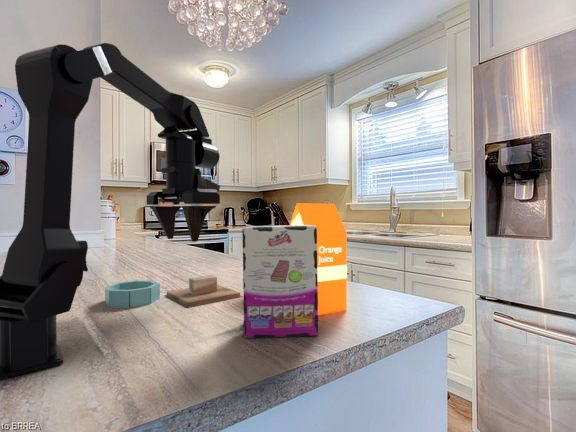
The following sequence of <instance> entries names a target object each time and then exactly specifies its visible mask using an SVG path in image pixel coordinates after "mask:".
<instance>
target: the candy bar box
mask: <svg viewBox="0 0 576 432" xmlns="http://www.w3.org/2000/svg"><path fill="white" fill-rule="evenodd" d="M242 274H243V278H242V281H243V282H242V283H243V284H242V286H243V288H242V289H243V337H244V339H263V338H265V339H267V338H271V339H272V338H292V337H293V338H295V337H311V336H312V337H315V336H318V335H319V315H318V277H317V275H318V271H317V226H314V225H290V224H289V225H288V224H287V225H284V224H283V225H251V226H250V225H249V226H248V225H247V226H244V227H243V228H242Z"/></svg>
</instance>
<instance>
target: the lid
mask: <svg viewBox="0 0 576 432" xmlns="http://www.w3.org/2000/svg"><path fill="white" fill-rule="evenodd" d="M188 280H189V285H188V287H187V288H181V289H174V290H168V291H166V295H167V296H169V297H171V298H173V299H175V300H177V301H179V302H181V303H183V304H185V305H187V306H188V307H191V306H196V305H201V304H206V303H211V302H216V301H221V300H226V299H231V298H236V297H240V296H241V292H240V291H236V290H234V289H231V288H227V287H224V286H221V285H219V284H218V276H215V275H212V274H211V275H205V276H198V277H190V278H188ZM236 299H237V298H236ZM231 300H232V299H231ZM226 301H227V300H226ZM221 302H222V301H221ZM216 303H217V302H216ZM211 304H212V303H211Z"/></svg>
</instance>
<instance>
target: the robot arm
mask: <svg viewBox="0 0 576 432" xmlns="http://www.w3.org/2000/svg"><path fill="white" fill-rule="evenodd" d="M14 70H15V77H16V78H15V79H16V87H17V93H18V95H19V97H20V100H21V102H22V103H23V104H24V106H25V109H26V110H27V112H28V117H29V118H28V119H29V120H28V136H27V150H26V151H27V152H26V153H27V155H26V169H25V185H24V186H25V187H24V203H23V217H22V218H23V220H22V221H23V222H22V226H21V229H20V230H19V232H18V234H17V235H16V237H15V238H14V240H13V241H12V243H10V244H11V245H10V246H9V248H8V250H7V254H6V258H5V262H4V265H3V269H2V274H1V275H0V380H3V379H7V378H10V377H11V378H12V377H16V376H19V375H22V374H26V373H30V372H35V371H39V370H42V369H47V368H50V367H55V366H59V365H61V364H63V363H64V357H63V354H62V352H61V349H60V346H59V344H57V315H61V314H64V313H67V312H70V311H71V307H72V305H73V302H74V299H75V295H76V292H77V288H78V287H80V286H81V283H82V281H83V277H84V272H88V270H89V268H88V265H87V253H88V249H89V244H88V241H87V240H78V239H76V237H75V235H74V233H73V231H72V230H71V225H70V224H71V211H72V209H71V207H72V205H71V204H72V189H73V188H72V185H73V169H74V167H73V166H74V150H75V149H74V148H75V133H76V132H75V131H76V130H75V129H76V121H77V119H78V118H79V116H80V115H81V113H82V111H83V110H84V108H85V107H86V105H87V103H88V102H89V100H90V96H91V95H90V94H91V90H92V86H93V81H94V80H95V79H98V78H100V79H101V80H104V81H105V82H106V83H108V84H110V85H111V86H112V87H114V88H115V89H117V90H119V91H120V92H122V93H123V94H125V95H126V96H127V97H129V98H131V99H132V100H134V101H135V102H137V103H139V104H140V105H141V106H143V107H144V108H145V109H147V110H149V111H150V112H151V113H152V115H153V117H154V118H153V119H154V120H155V121H156V122H157V123H158V124H159V125H160V126H161V127H162V128H163V130H161V131H160V132H159V133H157V137H158V138H159V139H162V140H163V139H164V140H165V167H162V168H161V174H163V175H166V176H165V178H166V181H165V182H166V185H165V186H166V188H162V189H161V191H150V192H149V193H148V194H147V195H146V197H145V198H146V206H147V205H150V206H149V209H151V211H152V212H153V215H154V216H155V217H156V219H157V220H158V222H159V224H160V226H161V228H162V230H163V232H164V234H165V236H166V238H167V239H168V240H170V239H171V240H172V239H174V235H175V227H176V226H175V225H176V214H177V213H178V212H179V210H180V209H181V208H182V212H183V215H184V219H185V223H186V226H187V230H188V233H189V237H190V240H191V242H192V243H193V242H195V243H196V242H198V241H199V237H200V235H201V232H202V228H203V225H204V221H206V218H207V215H208V214H209V213H210V212H211V211H212V210H214V209H216V207H217V205H220V204H221V193H220V189H221V185H220V184H217V182H216V183H215V182H214V181H212V180H210V179H207V178H204V177H202V171H201V170H200V168H202V169H206V170H210V169H214V168H215V167H216V166H217V165H218V163H219V161H220V155H221V154H220V152H219V149H218V148H217V147H216V146H215V145H214V144H213V141H212V139H211V138H210V134H209V131H208V129H207V127H206V124H205V120H204V118H203V115H202V113H201V110H200V108H199V106H198V105H197V104H196V102H195V101H193V99H190V98H188V97H187V96H185V95H182V94H179V93H176V92H175V93H174V92H173V91H172V92H171V91H169V90H168V89H166V88H165V87H164V86H162V85H161V84H160V83H158V82H157V81H156V80H154V78H152V77H151V76H150V75H148V74H147V73H146V72H144V71H143V70H142V69H141V68H140V67H138V66H137V65H135V63H133V62H132V61H131V60H129V59H128V58H127V57H125V56H124V54H122V52H121V51H120V49H119V48H118V47H117V46H116V45H115V44H113V43H109V42H103V43H98V44H94V45H91V46H90V45H89V46H86V47H84V48H83V49H80V50H77V49H76V48H74V47H73V46H71V45H67V44H62V43H61V44H60V43H59V44H55V45H52V46H48V47H47V46H46V47H44V48H40V49H36V50H35V49H34V50H32V51H28V52H25V53H22V54H21V55H19V56H18V57H17V58H16V61H15V63H14ZM196 167H197V168H196ZM180 203H184V205H182V206H180ZM189 204H190V205H189ZM175 205H177V206H175Z"/></svg>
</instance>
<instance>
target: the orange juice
mask: <svg viewBox="0 0 576 432" xmlns="http://www.w3.org/2000/svg"><path fill="white" fill-rule="evenodd" d="M294 208H295V209H294V211H293V214H292V217H291V220H290V223H289V225H314V226H317V271H318V275H317V277H318V316H320V315H327V314H332V313H338V312H339V313H340V312H343V311H344V312H345V311H347V310H348V309H347V307H348V303H347V301H348V300H347V298H348V296H347V294H348V293H347V292H348V291H347V289H348V285H347V282H348V281H347V278H348V263H347V262H348V261H347V260H348V259H347V258H348V257H347V256H348V254H347V253H348V252H347V251H348V250H347V248H348V246H347V242H348V240H347V237H348V235H347V234H348V233H347V231H346V228H345V226H344V223H343V221H342V218H341V217H340V214H339V211H338V208H337V206H336V204H335V203H299V202H298V203H296V205H295V207H294Z"/></svg>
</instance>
